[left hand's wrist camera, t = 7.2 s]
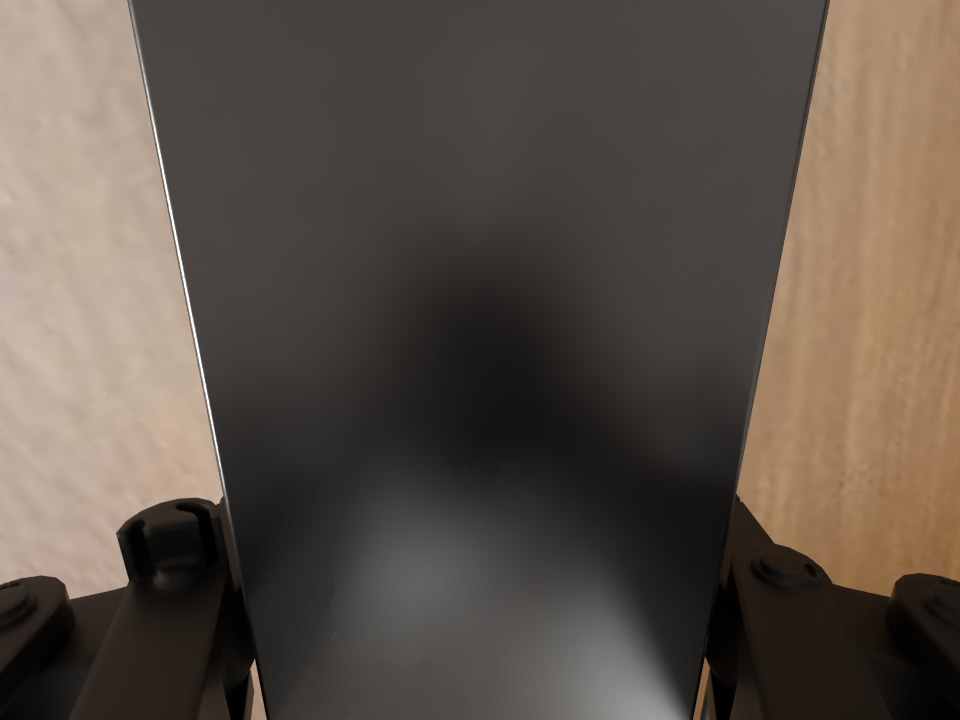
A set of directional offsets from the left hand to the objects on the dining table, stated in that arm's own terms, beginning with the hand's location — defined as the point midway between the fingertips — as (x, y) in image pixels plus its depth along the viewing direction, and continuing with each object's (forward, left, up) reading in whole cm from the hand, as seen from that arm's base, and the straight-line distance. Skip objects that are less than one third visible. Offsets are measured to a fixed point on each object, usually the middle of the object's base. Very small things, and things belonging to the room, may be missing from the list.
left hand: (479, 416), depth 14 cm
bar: (+9, 0, -1) cm, 9 cm away
